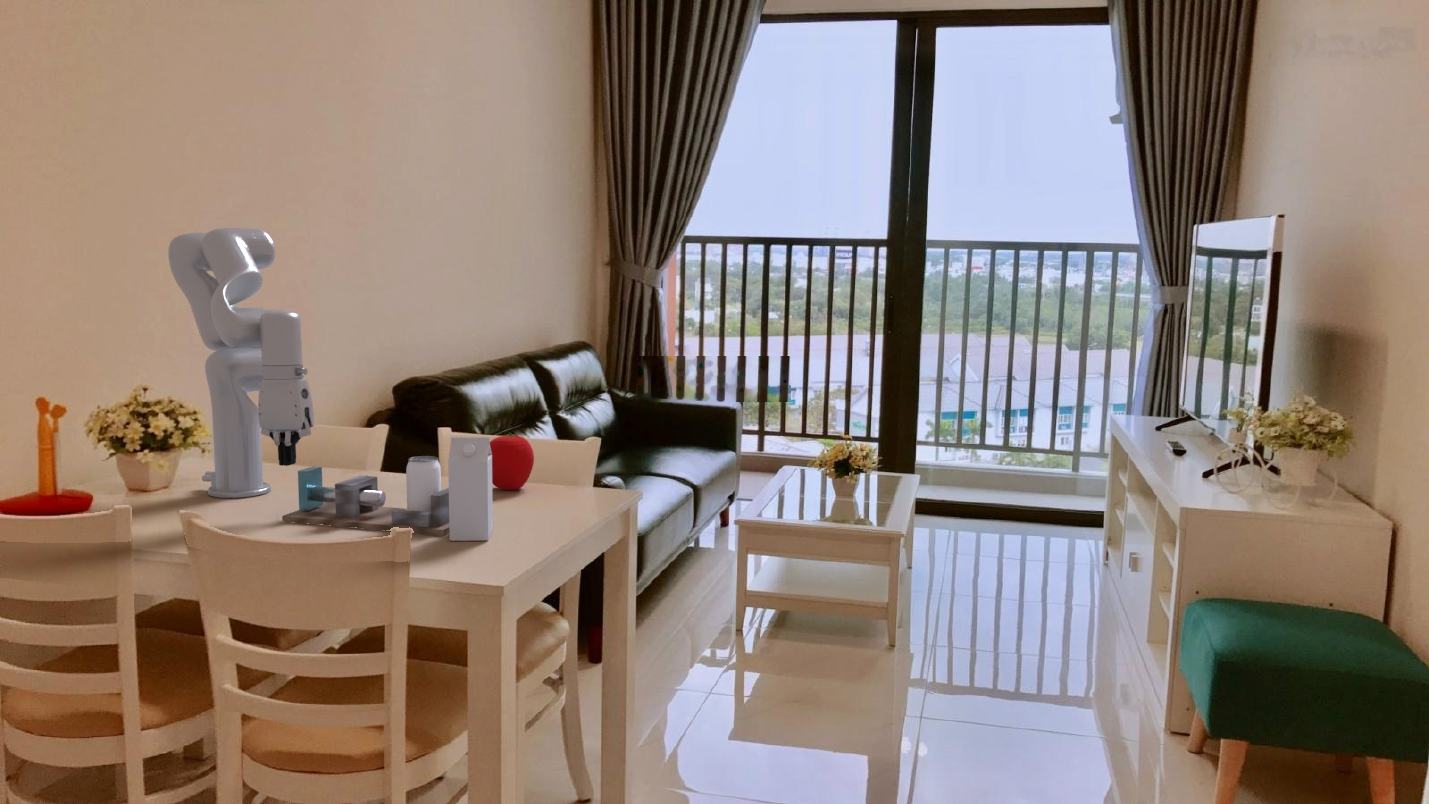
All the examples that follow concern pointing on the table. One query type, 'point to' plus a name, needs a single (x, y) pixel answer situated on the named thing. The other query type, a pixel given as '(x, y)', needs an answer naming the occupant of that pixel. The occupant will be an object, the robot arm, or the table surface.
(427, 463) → the can
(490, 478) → the milk carton
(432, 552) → the table surface
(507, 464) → the tomato
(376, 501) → the shaft
